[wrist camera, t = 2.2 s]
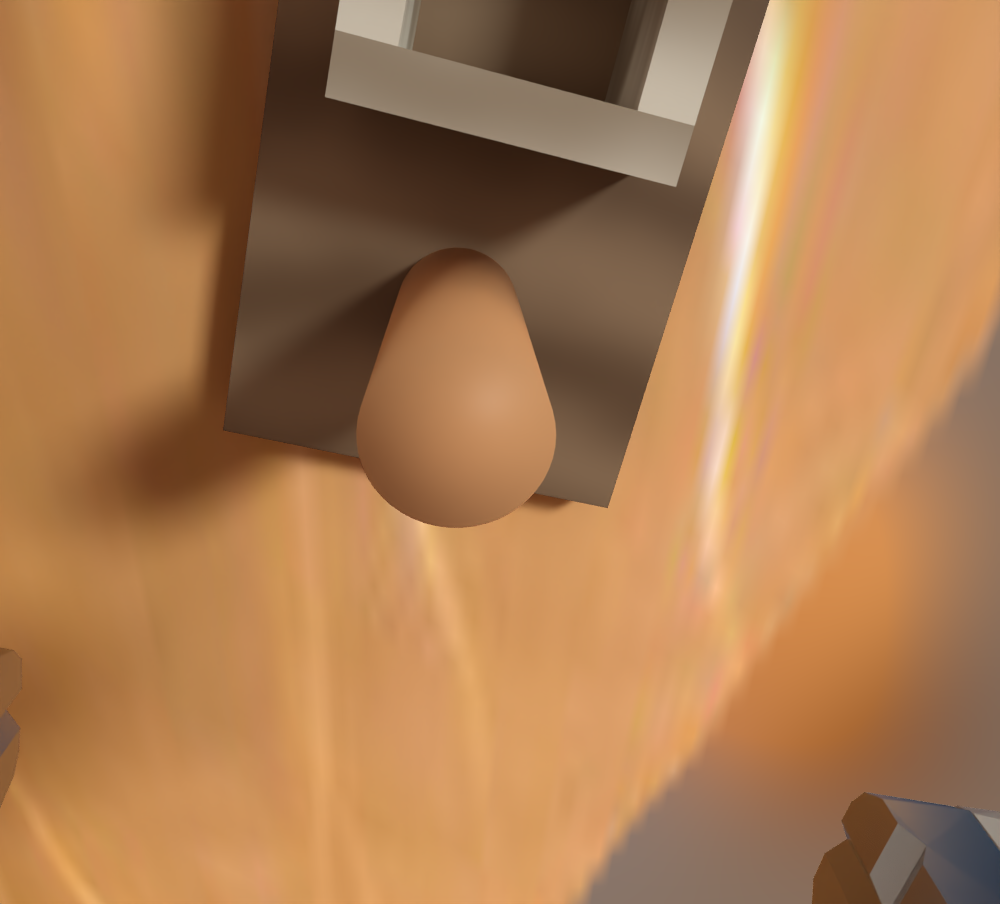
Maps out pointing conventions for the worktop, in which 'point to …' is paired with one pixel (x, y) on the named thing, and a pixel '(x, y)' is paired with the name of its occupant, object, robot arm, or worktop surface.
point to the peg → (456, 397)
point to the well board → (482, 196)
